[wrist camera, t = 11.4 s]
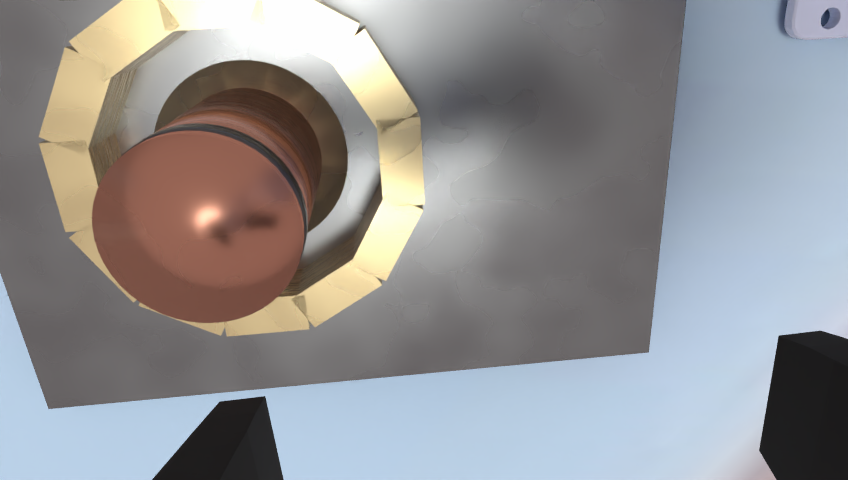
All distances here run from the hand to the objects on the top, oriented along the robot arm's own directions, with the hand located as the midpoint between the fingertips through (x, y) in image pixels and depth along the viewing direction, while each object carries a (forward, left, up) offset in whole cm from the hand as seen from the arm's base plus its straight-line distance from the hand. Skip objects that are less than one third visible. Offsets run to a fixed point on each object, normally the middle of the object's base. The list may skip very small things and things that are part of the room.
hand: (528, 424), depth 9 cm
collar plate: (+3, -2, -9) cm, 10 cm away
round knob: (+5, -2, -8) cm, 10 cm away
